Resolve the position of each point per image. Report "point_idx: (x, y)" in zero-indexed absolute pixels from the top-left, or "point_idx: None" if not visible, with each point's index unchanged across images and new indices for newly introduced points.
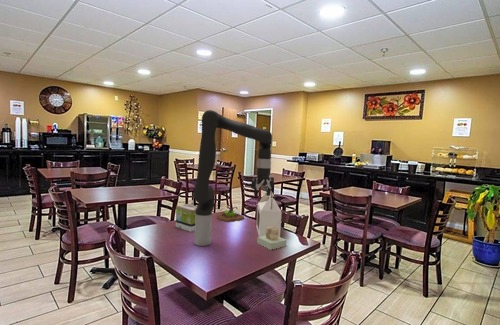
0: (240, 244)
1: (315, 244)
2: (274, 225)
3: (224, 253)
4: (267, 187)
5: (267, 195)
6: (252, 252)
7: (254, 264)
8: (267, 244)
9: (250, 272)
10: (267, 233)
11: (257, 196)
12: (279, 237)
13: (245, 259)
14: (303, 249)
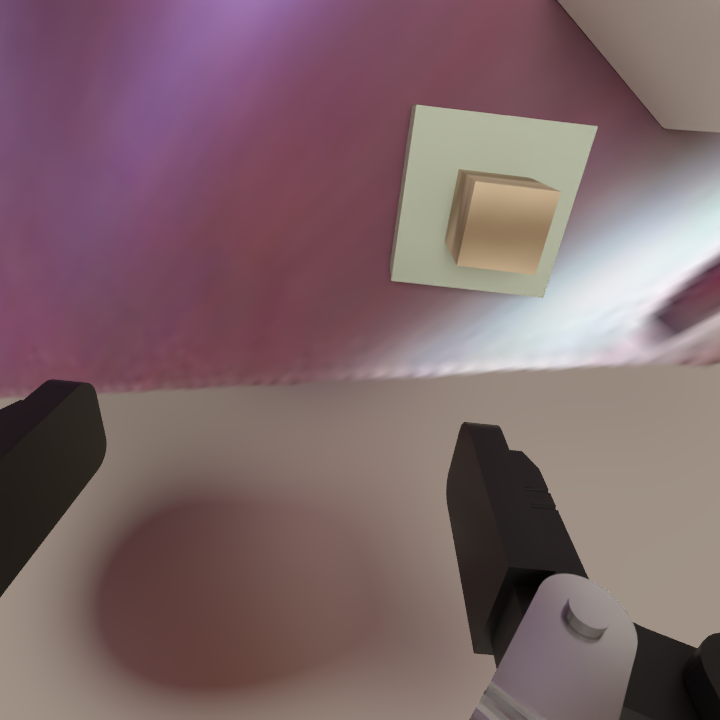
0: (285, 27)
1: (708, 363)
2: (703, 86)
3: (82, 114)
4: (532, 633)
5: (455, 448)
6: (268, 219)
7: (180, 344)
8: (395, 241)
9: (117, 389)
10: (462, 194)
11: (92, 459)
12: (554, 229)
13: (168, 273)
14: (567, 367)
